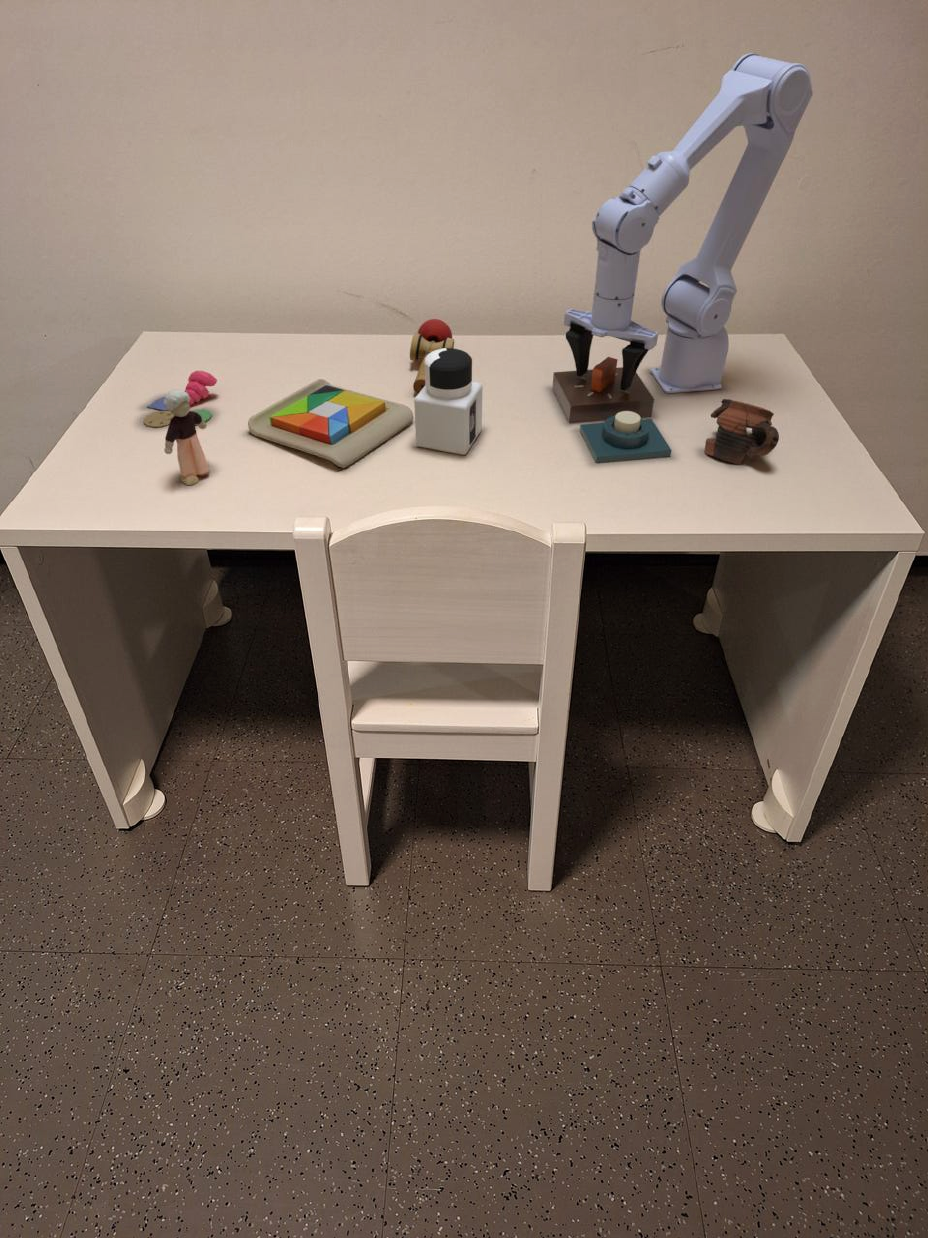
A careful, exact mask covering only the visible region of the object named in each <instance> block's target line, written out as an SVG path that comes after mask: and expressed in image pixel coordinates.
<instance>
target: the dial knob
mask: <svg viewBox="0 0 928 1238" xmlns="http://www.w3.org/2000/svg"><path fill="white" fill-rule="evenodd" d="M617 366H618V359H617V358H614V357H611V356H607V357H606V358H605V359H603V360H602V361H601V362H598V363H597V364H596V365H595V366H594V367H593V368H592V369H593V374H592V382H591V390H594V391H597V392H601V391H602V390H603V389H604V388H606V387H607V386H608V385H610V384H611V383H612V382H613V381H615V374H616V368H618V367H617Z"/></svg>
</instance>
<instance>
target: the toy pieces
mask: <svg viewBox="0 0 928 1238" xmlns="http://www.w3.org/2000/svg"><path fill="white" fill-rule="evenodd" d="M187 381H188V382H187V384H186V386H185V388H184V390H183V391H184V392H186V393H187V394H188V395H189V396H190V401H189V405H190V406H191V405H194V404H195V403H199V402H201V400H202V399H207V398H208V396H209V394H210V392H209V390H208V387H215V385H216V384H217V382H218V379H217V378H216V377H214V375H212V374H211V373H210V372H208V371H204V370H195V371H193V372H191V373H190V375H189V377H188V379H187ZM164 399H165V396H163V397H159V398H156V399H155V400H154V401H153V402H152V403H150V404H148V405H146V407H147V408H150V409H154V410H155V409H156V410H158V411H153V412H150V413H149V414H147V415H146V416H145V417H144V418H143V419H142V420H143V421H142V422H143V424H144V425H145V426H147V427H151V428H162V427H166V426H169V424H170V421H171V419H172V418H173V417H174V416H175V415H173V414H172V413H171V411H170V410H168V409H167V408H166V405H165V403H164ZM193 411H194V412H196V413H198V414H199V415H201V417H202V419H203V421H204V422H205V423H206V422H208V421H209V420H210V419H211V418H212V416H213V413H212V412H211V410H209V409H205V408H203V409H196V410H193ZM195 426H198V425H197V424H196V425H195Z"/></svg>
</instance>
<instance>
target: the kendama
mask: <svg viewBox="0 0 928 1238" xmlns="http://www.w3.org/2000/svg"><path fill="white" fill-rule="evenodd" d="M454 347H455V339H454V338H453V332H452V329H451V328H450V326H449V325H448V324H447V323H446V322H445V321H443V320H442V319H438V318H431V319H428V320H426V321H424V322H423V323H422V324H421V325H420V326H419V328H418V330H417V333H413V335H412V338H411V343H410V348H409V360H410V361H413V362H416V361H418V360H421V359H422V361H421V363H420V365H419V369H418V371H417V375H416V377H415V379H414V382H413V384H412V385H413V386H412V388H413V391H414V392H415V393H416V394H417V395H418V394H419V393H420V391H421V390H422V389H423V388H424V386H425V358H426V357H427V355H428V354H429V353H431V352H433V351H435V350H438V349H443V348H454ZM454 349H455V348H454Z"/></svg>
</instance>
